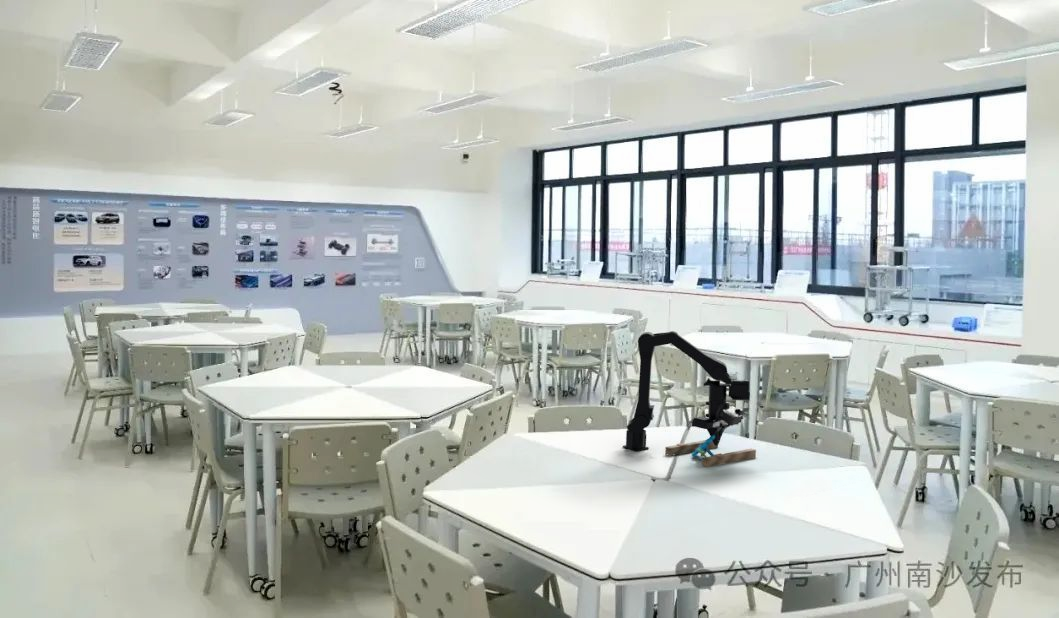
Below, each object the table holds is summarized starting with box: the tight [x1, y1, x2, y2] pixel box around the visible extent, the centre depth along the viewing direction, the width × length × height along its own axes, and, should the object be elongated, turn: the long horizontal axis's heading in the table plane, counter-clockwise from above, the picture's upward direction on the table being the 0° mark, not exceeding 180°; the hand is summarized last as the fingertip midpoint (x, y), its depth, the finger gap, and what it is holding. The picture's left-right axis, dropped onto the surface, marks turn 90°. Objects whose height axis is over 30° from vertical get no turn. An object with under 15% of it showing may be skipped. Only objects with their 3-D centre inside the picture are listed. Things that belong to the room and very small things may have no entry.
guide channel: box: [665, 439, 757, 468], centre depth 266 cm, size 24×18×3 cm
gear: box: [691, 435, 715, 458], centre depth 262 cm, size 11×6×10 cm
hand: (716, 445), depth 267 cm, fingers closed
